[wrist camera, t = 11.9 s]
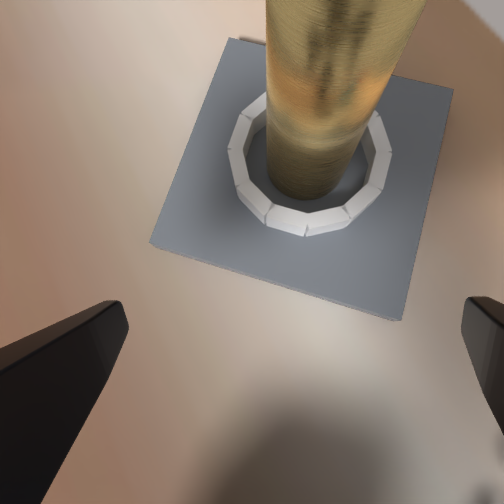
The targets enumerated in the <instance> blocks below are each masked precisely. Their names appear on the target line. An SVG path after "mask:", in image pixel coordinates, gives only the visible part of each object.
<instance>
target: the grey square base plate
mask: <svg viewBox="0 0 504 504" xmlns="http://www.w3.org/2000/svg"><path fill="white" fill-rule="evenodd" d="M453 90H454V89H450V88H446V87H442V86H437V85H433V84H429V83H424V82H420V81H416V80H411V79H407V78H403V77H398V76H394V75H391V77H390V79H389V81H388V83H387V85H386V87H385V89H384V91H383V93H382V95H381V98H380V100H379V102H378V104H377V106H376V108H375V110H374V112H373V114H372V116H371V118H370V120H369V122H368V124H367V127H366V129H365V131H364V133H363V135H362V137H361V139H360V141H359V143H358V145H357V147H356V149H355V151H354V154H353V156H352V158H351V160H350V162H349V164H348V166H347V168H346V170H345V172H344V174H343V176H342V178H341V180H340V182H339V184H338V185H337V186H336V188H335V189H334V190H333V191H331V192H330V193H329V194H327V195H325V196H323V197H321V198H318V199H314V200H297V199H294V198H291V197H288V196H286V195H285V194H283V193H281V192H280V191H279V190H278V189H277V188H276V187H275V186H274V185H273V183H272V182H271V180H270V178H269V175H268V172H267V142H266V46H264V45H260V44H256V43H251V42H247V41H243V40H238V39H234V38H230V37H229V39H228V41H227V44H226V46H225V49H224V51H223V54H222V56H221V59H220V62H219V64H218V67H217V69H216V72H215V74H214V77H213V79H212V82H211V85H210V87H209V90H208V92H207V95H206V97H205V100H204V103H203V105H202V108H201V110H200V113H199V115H198V118H197V120H196V123H195V126H194V128H193V131H192V133H191V136H190V138H189V141H188V143H187V146H186V149H185V151H184V154H183V156H182V159H181V161H180V164H179V167H178V169H177V172H176V174H175V177H174V179H173V182H172V184H171V187H170V190H169V192H168V195H167V197H166V200H165V202H164V205H163V207H162V210H161V213H160V215H159V218H158V220H157V223H156V225H155V228H154V231H153V233H152V236H151V238H150V241H149V243H150V244H152V245H153V246H155V247H156V248H159V249H163V250H166V251H169V252H172V253H175V254H179V255H182V256H185V257H188V258H192V259H195V260H198V261H201V262H204V263H208V264H211V265H214V266H217V267H221V268H224V269H227V270H230V271H233V272H237V273H240V274H243V275H246V276H250V277H253V278H256V279H259V280H262V281H266V282H269V283H272V284H275V285H279V286H282V287H285V288H288V289H291V290H295V291H298V292H301V293H304V294H308V295H311V296H314V297H317V298H320V299H324V300H327V301H330V302H333V303H336V304H340V305H343V306H346V307H349V308H353V309H356V310H359V311H362V312H365V313H369V314H372V315H375V316H378V317H382V318H385V319H388V320H391V321H401V319H402V315H403V311H404V306H405V302H406V297H407V293H408V289H409V284H410V280H411V275H412V271H413V267H414V262H415V258H416V253H417V249H418V244H419V240H420V236H421V231H422V227H423V222H424V218H425V214H426V209H427V205H428V200H429V196H430V192H431V187H432V183H433V178H434V174H435V170H436V165H437V161H438V156H439V152H440V147H441V143H442V139H443V134H444V130H445V125H446V121H447V117H448V112H449V108H450V103H451V99H452V95H453Z"/></svg>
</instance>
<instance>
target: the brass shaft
mask: <svg viewBox="0 0 504 504" xmlns="http://www.w3.org/2000/svg"><path fill="white" fill-rule="evenodd" d="M426 2H427V0H266V142H267V172H268V175H269V178H270V180H271V182H272V183H273V185H274V186H275V187H276V188H277V189H278V190H279V191H280V192H281V193H283V194H285V195H286V196H288V197H291V198H294V199H297V200H314V199H318V198H321V197H323V196H325V195H327V194H329V193H330V192H331V191H333V190H334V189H335V188H336V186H337V185H338V184H339V182H340V180H341V178H342V176H343V174H344V172H345V170H346V168H347V166H348V164H349V162H350V160H351V158H352V156H353V154H354V151H355V149H356V147H357V145H358V143H359V141H360V139H361V137H362V135H363V133H364V131H365V129H366V127H367V124H368V122H369V120H370V118H371V116H372V114H373V112H374V110H375V108H376V106H377V104H378V102H379V100H380V98H381V95H382V93H383V91H384V89H385V87H386V85H387V83H388V81H389V79H390V77H391V75H392V73H393V71H394V68H395V66H396V64H397V62H398V60H399V58H400V56H401V54H402V52H403V50H404V48H405V46H406V44H407V41H408V39H409V37H410V35H411V33H412V31H413V29H414V27H415V25H416V23H417V21H418V19H419V17H420V15H421V12H422V10H423V8H424V6H425V4H426Z"/></svg>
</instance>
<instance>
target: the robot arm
mask: <svg viewBox="0 0 504 504" xmlns="http://www.w3.org/2000/svg"><path fill="white" fill-rule="evenodd" d="M128 330H129V325H128V321H127V318H126V315H125V312H124V308H123V305H122V303H121V302H120V301H117V300H109V301H103V302H101V303H99V304H97V305H95V306H92V307H90V308H88V309H86V310H84V311H81V312H79V313H77V314H75V315H73V316H70V317H68V318H66V319H64V320H62V321H59V322H57V323H55V324H53V325H51V326H48V327H46V328H44V329H42V330H40V331H38V332H35V333H33V334H31V335H29V336H27V337H24V338H22V339H20V340H18V341H16V342H13V343H11V344H9V345H7V346H5V347H2V348H0V504H41V502H42V500H43V498H44V497H45V495H46V493H47V491H48V489H49V487H50V485H51V484H52V482H53V480H54V478H55V476H56V474H57V473H58V471H59V469H60V467H61V465H62V463H63V462H64V460H65V458H66V456H67V454H68V452H69V451H70V449H71V447H72V445H73V443H74V441H75V440H76V438H77V436H78V434H79V432H80V430H81V428H82V427H83V425H84V423H85V421H86V419H87V417H88V416H89V414H90V412H91V410H92V408H93V406H94V405H95V403H96V401H97V399H98V397H99V395H100V394H101V392H102V390H103V388H104V386H105V384H106V382H107V380H108V378H109V376H110V374H111V372H112V369H113V367H114V365H115V362H116V360H117V358H118V355H119V353H120V350H121V348H122V346H123V343H124V341H125V339H126V336H127V334H128ZM461 332H462V336H463V339H464V342H465V345H466V348H467V350H468V353H469V356H470V359H471V362H472V364H473V367H474V370H475V373H476V376H477V378H478V381H479V384H480V386H481V389H482V392H483V394H484V396H485V398H486V400H487V403H488V405H489V407H490V409H491V411H492V413H493V415H494V417H495V419H496V421H497V423H498V425H499V427H500V429H501V431H502V433H503V435H504V304H502V303H500V302H498V301H496V300H494V299H492V298H489V297H486V296H474V297H468V298H467V299H466V301H465V304H464V311H463V317H462V323H461Z"/></svg>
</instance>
